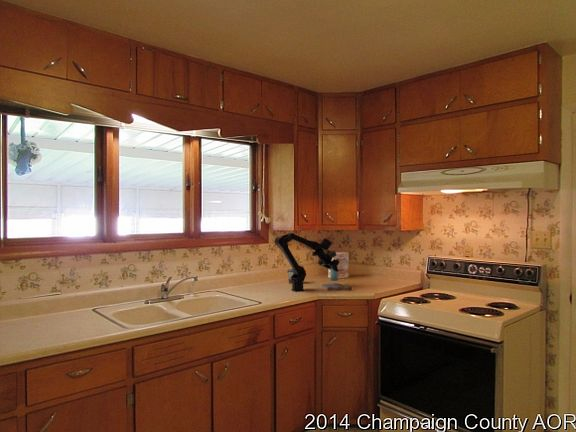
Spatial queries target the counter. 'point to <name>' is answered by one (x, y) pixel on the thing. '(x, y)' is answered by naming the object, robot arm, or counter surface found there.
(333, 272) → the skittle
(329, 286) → the mat
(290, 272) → the food container
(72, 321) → the counter surface
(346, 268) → the coffeecake box
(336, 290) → the bar
